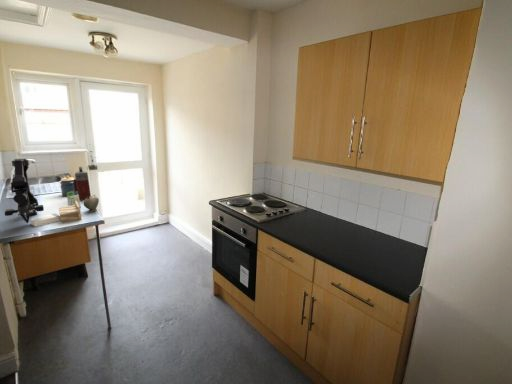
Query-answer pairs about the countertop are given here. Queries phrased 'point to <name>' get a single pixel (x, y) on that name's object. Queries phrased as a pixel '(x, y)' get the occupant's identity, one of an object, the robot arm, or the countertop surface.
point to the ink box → (72, 199)
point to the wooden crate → (70, 212)
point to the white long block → (45, 220)
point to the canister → (67, 186)
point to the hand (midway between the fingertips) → (27, 222)
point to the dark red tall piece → (82, 184)
